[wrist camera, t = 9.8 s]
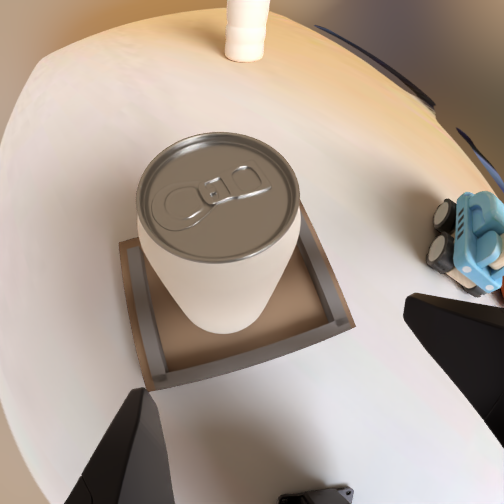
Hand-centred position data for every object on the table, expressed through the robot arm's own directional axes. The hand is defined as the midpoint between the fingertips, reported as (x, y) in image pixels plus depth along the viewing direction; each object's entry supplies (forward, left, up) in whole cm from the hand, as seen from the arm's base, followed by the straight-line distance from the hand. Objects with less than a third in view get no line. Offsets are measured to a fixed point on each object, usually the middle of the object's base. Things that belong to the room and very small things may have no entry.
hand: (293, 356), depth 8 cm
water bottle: (+49, +5, -14) cm, 51 cm away
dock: (+6, +2, -14) cm, 15 cm away
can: (+5, +3, -11) cm, 13 cm away
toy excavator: (+9, -22, -14) cm, 28 cm away
